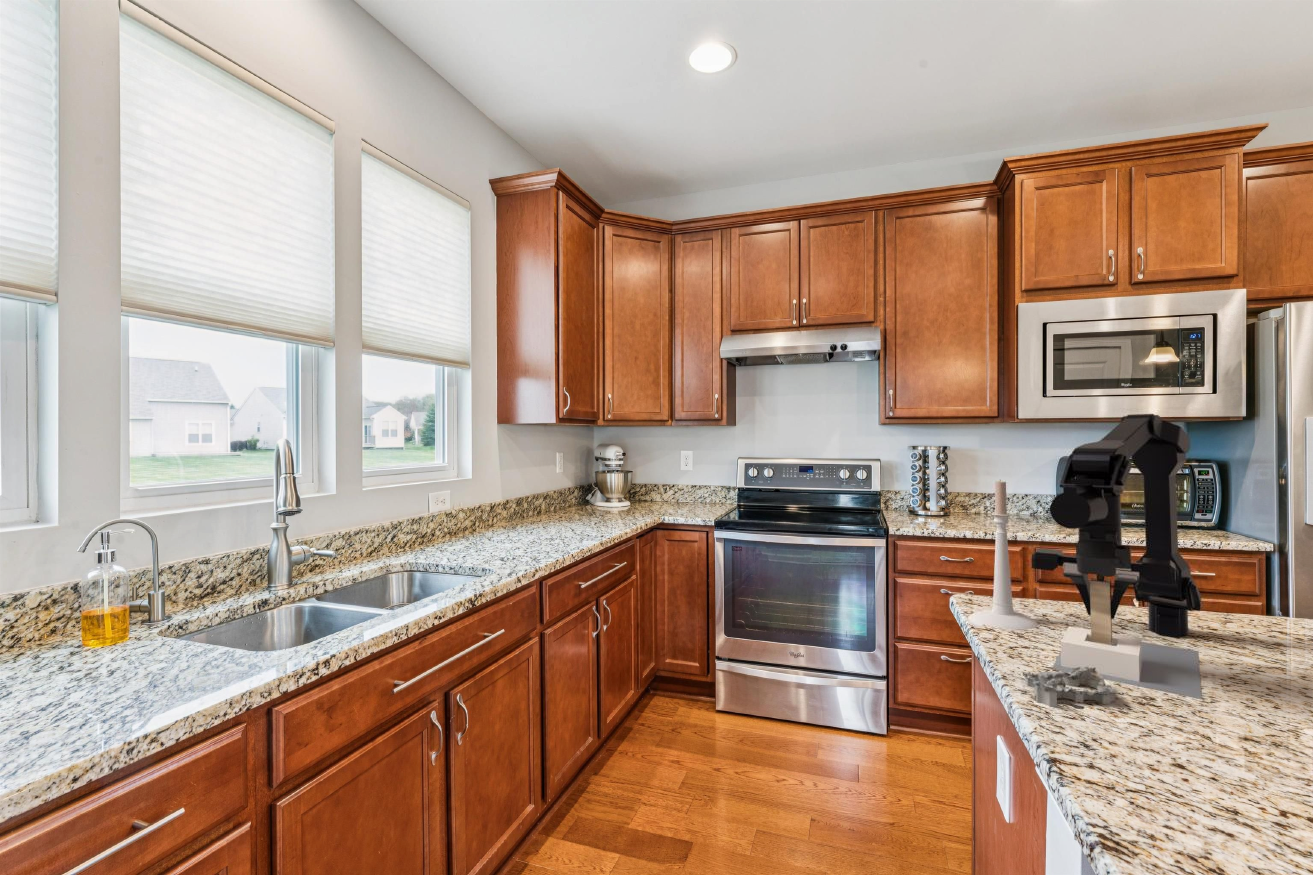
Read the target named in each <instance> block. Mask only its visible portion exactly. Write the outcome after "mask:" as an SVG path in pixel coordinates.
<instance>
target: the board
mask: <svg viewBox="0 0 1313 875" xmlns="http://www.w3.org/2000/svg"><path fill="white" fill-rule="evenodd" d="M1199 660H1200V658H1199V650H1193V649H1192V650H1191V649H1186V648H1181V647H1175V646H1169V645H1164V644H1157V643H1152V642H1151V643H1150V642H1146V641H1142V668H1141V675H1140V681H1139V682H1138V681H1133V680H1128V679H1123V678H1118V677H1113V676H1108V675H1104V674H1100V675H1101V676H1102V678H1103V679H1104V681H1110V682H1116V683H1122V684H1125V685H1130V686H1135V687H1141V688H1145V689H1150V690H1153V691H1154V690H1155V691H1158V692H1159V691H1160V692H1164V693H1169V694H1175V695H1178V696H1183V697H1189V698H1194V699H1198V700H1202V699H1203V698H1202V697H1203V696H1202V684H1201V672H1200V662H1199ZM1051 669H1053V670H1057V671H1067V672H1071V671H1072V669H1073V668H1069V667H1064V666H1061V651H1060V652H1059V654H1058V656H1057V658H1056V660H1055V661H1054V663H1053V665H1052V668H1051ZM1098 674H1099V673H1098Z"/></svg>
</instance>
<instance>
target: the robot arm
mask: <svg viewBox="0 0 1313 875" xmlns="http://www.w3.org/2000/svg"><path fill="white" fill-rule="evenodd" d="M1120 420H1121V421H1120V422H1119V423H1118V424H1117V425H1116V426H1115V427H1114V428H1113V429H1112V430H1110V431H1109V432H1108V433H1107V434H1106V435H1105V436H1104V437H1102V438H1101V439H1100V440H1098V441H1095V442H1094V441H1093V442H1090V443H1089V442H1088V443H1084V444H1081V445H1079V446H1077V447H1075V448H1074V449H1073V450H1072V452H1071V453H1070V454H1069V455H1068V458H1067V461H1066V465H1065V467H1064V470H1063V473H1062V476H1061V479H1060V481H1059V487H1060V489H1061V488H1062V489H1063V492H1061V493H1059V494H1057V495H1056V496H1055V497H1054V498H1053V499H1052V501H1051V503H1050V505H1049V512H1050V516H1051V518H1052V520H1053V521H1054V522H1056V524H1057V525H1059V526H1060V527H1062V528H1066V529H1070V530H1073V529H1074V530H1075V529H1078V530H1077V531H1078V541H1077V543H1076V546H1075V556H1074V555H1065V554H1064V551H1063V549H1056V548H1055V549H1053V548H1042V547H1040V548H1038V549H1036V550H1035V552H1033V553H1032V554H1031V557H1030V558H1031V568H1032V569H1034V570H1044V571H1050V572H1051V571H1054V570H1056V569H1057V568H1058V567H1062V569H1063V573H1062V576H1063V577H1065V578H1069V579H1070V580H1071V581H1072V582H1073V584H1074V586H1075V587H1076V589H1077V591H1078V593H1079V595H1080V598H1081V600H1082V602H1083V605H1084V607H1085V609H1086V612H1087V615H1088V616H1089V617H1091V606H1090V578H1089V575H1096V576H1097V575H1102V576H1104V578H1106V577H1108V578H1110V577H1114V576H1115V578H1114V580H1113V591H1112V595H1111V597H1112V603H1111V619H1112V620H1114V619H1115V617H1116V614H1117V611H1118V609H1119V606H1120V604H1121V601H1122V598H1123V596H1124V595H1125V593H1126V591H1127V590H1128V588H1129V587H1130V586H1133V589H1134V591H1133V592H1134V596H1135V601H1136V602H1143V603H1148V604H1147V606H1148V607H1147V610H1148V611H1147V612H1148V616H1147V617H1148V630H1149V631H1151V632H1152V633H1155V634H1156V635H1158V636H1160V637H1167V638H1172V639H1179V638H1181V637H1182V638H1183V637H1184V638H1185V637H1187V636H1189V612H1193V611H1202V604H1203V603H1202V594H1201V592H1200V591H1199V588H1198V585H1197V583H1196V582H1195V579H1194V578H1193V577H1192V572H1191V571H1192V570H1191V566H1190V565H1189V563H1188V562H1187V561H1186V560H1185V558H1184V557H1183V556H1182V555H1181V553H1180V552H1179V541H1178V540H1179V539H1178V536H1179V535H1178V534H1179V533H1178V532H1179V531H1178V511H1177V510H1178V509H1177V504H1178V503H1177V482H1176V481H1177V480H1176V478H1177V477H1176V475H1177V474H1178V473H1179V471H1180V470H1181V469H1182V467H1183V466H1184V465H1185V464H1186V462H1187V456H1188V454H1189V452H1190V447H1191V439H1190V436H1189V435H1188V433H1187V432H1186V431H1185V429H1183V427H1181V426H1180V425H1178V424H1175V423H1172V422H1170V421H1168V420H1167V421H1166V420H1164V419H1163V418H1162V417H1161V416H1160V415H1159V414H1154V413H1140V414H1139V413H1135V414H1134V413H1133V414H1127V415H1123V416H1122V417H1121V419H1120ZM1130 459H1131V460H1130ZM1132 464H1133V465H1134V466H1135V467H1136V469H1137V470H1138V472H1140V474H1141V476H1142V477H1143V478H1142V480H1143V503H1144V508H1143V509H1144V510H1143V511H1144V532H1145V533H1144V534H1145V535H1144V536H1145V552H1144V553H1143V555H1142V556H1141V557H1140V558H1139V560H1137V561H1132V550H1131V548H1132V547H1131V545H1123V540H1122V500H1121V499H1122V496H1121V494H1124V490H1123V488H1122V487H1124V486H1125V484H1126V481H1127V479H1128V476H1129V475H1130V471H1131V469H1132V467H1133V465H1132Z"/></svg>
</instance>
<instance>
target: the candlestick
mask: <svg viewBox="0 0 1313 875" xmlns="http://www.w3.org/2000/svg"><path fill="white" fill-rule="evenodd" d="M994 497H995V498H994V502H995V503H994V505H995V506H994V507H995V508H994V510H995V511H994V513H993V512H992V513H990V515H991V516H992V517H993V522H994V524H996V525H995V526H996V531H995V545H994V546H995V547H994V549H995V550H994V551H995V552H994V568H993V569H994V572H993V574H994V576H993V597H992V598H993V599H992V602H993V603H992V606H991V609H983V610H977V611H975V612H973V613H971V614H969V616H968V617H967V622H968V623H969V625H971V626H972V627H974V628H976V629H978V630H979V629H980V628H981V627H982V626H986V627H991V628H996V629H1002V630H1012V631H1013V630H1014V631H1025V630H1026V631H1027V630H1032V629H1036V628H1037V627H1038V625H1039V623H1038V622H1037V621H1036V620H1034V619H1033V618H1031V617H1029V616H1027V615H1025V614H1022V613H1019V612H1017V611H1015V610H1014V606H1013V604H1014V602H1013V595H1012V580H1011V568H1010V556H1009V554H1010V553H1009V544H1008V543H1009V542H1008V531H1007V525H1008V524H1009V517H1010V516H1012V514H1011V513H1007V482H1006V481H1002V480H999V481H994Z"/></svg>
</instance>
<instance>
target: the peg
mask: <svg viewBox="0 0 1313 875" xmlns="http://www.w3.org/2000/svg"><path fill="white" fill-rule="evenodd" d="M1090 578H1091V579H1089V584H1090V606H1091V616H1090V630H1091V641H1093V642H1099V643H1105V644H1110V645H1111V643H1112V633H1113V619H1111V603H1112V580H1111V579H1105V576H1102V575H1097V574H1096V577H1090Z"/></svg>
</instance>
